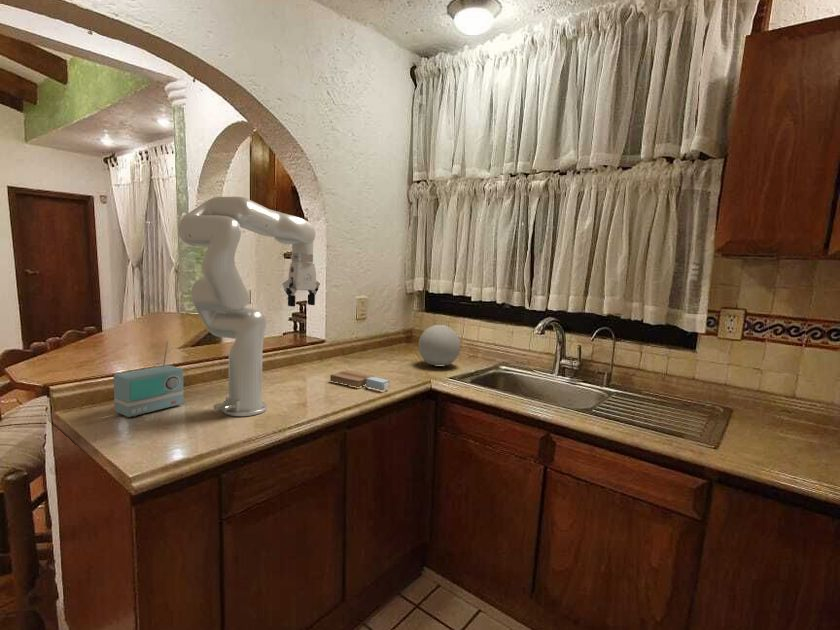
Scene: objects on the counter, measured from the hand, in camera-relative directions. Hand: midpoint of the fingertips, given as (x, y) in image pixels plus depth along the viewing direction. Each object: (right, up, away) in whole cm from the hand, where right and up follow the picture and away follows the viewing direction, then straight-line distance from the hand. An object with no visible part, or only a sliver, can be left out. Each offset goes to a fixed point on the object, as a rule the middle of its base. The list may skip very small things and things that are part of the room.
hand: (301, 305), depth 158 cm
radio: (-37, -32, -30) cm, 58 cm away
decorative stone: (+53, -28, +45) cm, 75 cm away
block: (+25, -29, +5) cm, 39 cm away
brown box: (+17, -30, +10) cm, 36 cm away
